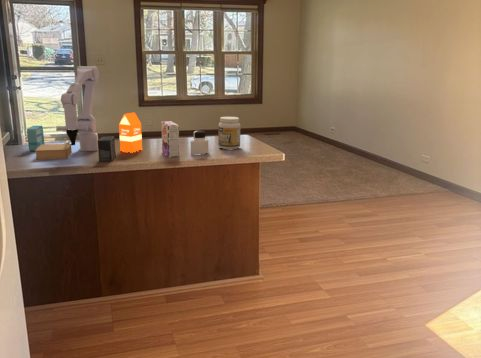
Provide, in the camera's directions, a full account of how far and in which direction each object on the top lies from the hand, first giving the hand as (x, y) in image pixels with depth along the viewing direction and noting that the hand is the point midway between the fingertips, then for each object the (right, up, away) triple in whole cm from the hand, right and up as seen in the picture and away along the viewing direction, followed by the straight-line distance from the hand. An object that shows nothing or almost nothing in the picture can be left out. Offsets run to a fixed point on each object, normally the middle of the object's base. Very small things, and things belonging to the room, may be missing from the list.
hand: (73, 145), depth 225 cm
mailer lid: (-9, -2, -1) cm, 9 cm away
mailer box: (-9, -6, 0) cm, 11 cm away
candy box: (+47, -5, +7) cm, 48 cm away
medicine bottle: (+62, -4, +10) cm, 63 cm away
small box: (+18, -7, -4) cm, 20 cm away
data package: (-25, -1, +14) cm, 28 cm away
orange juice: (+25, -2, +15) cm, 29 cm away
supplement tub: (+77, 0, +25) cm, 81 cm away
